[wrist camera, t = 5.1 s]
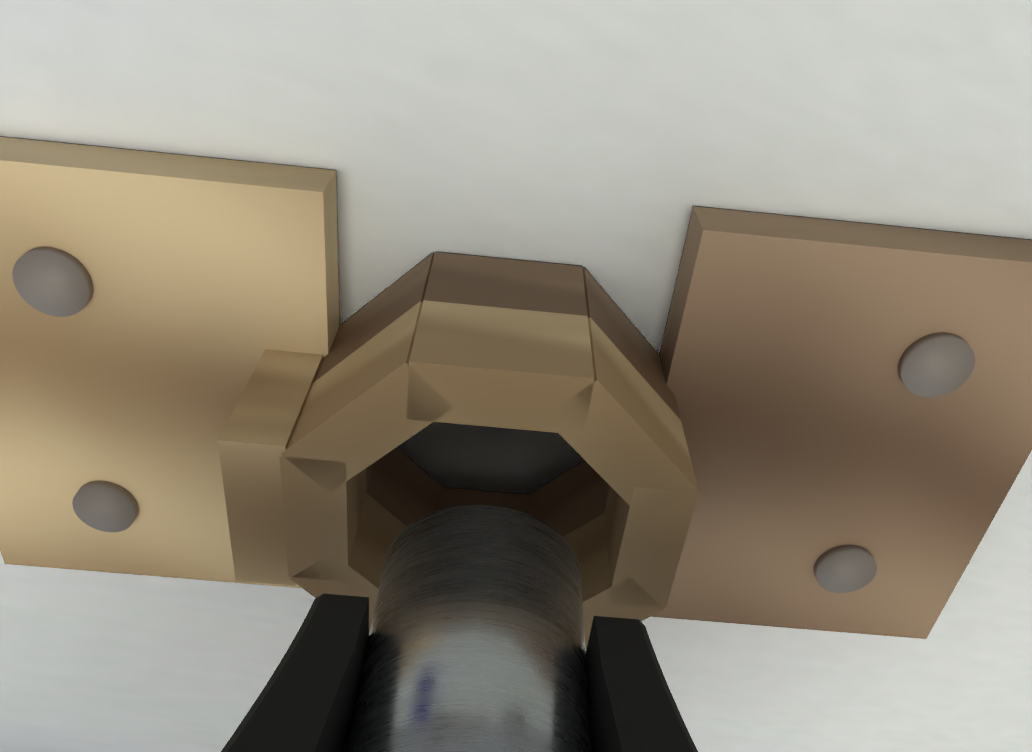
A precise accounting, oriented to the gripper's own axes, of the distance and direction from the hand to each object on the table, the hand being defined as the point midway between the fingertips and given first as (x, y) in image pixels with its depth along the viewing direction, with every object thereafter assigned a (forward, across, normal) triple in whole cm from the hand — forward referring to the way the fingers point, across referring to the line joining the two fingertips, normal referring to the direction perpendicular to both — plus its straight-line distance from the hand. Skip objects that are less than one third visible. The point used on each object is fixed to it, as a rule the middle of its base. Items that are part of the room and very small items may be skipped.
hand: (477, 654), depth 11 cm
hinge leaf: (+6, +3, 0) cm, 7 cm away
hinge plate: (+6, -3, 0) cm, 7 cm away
